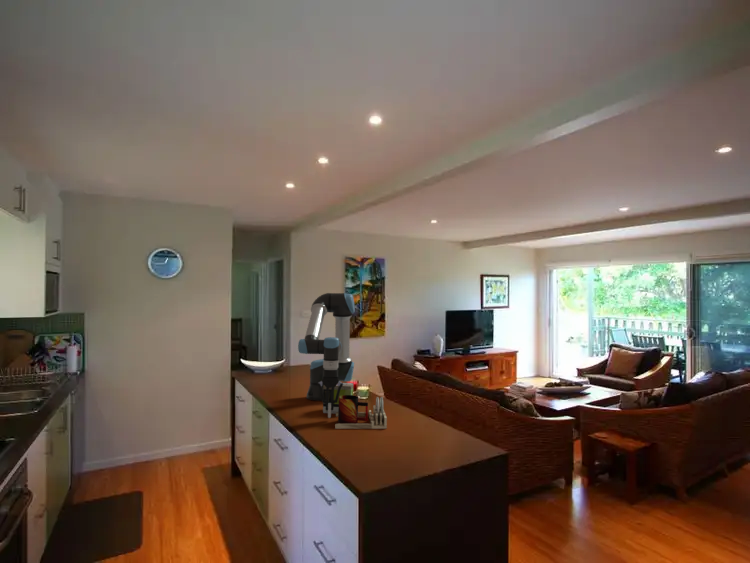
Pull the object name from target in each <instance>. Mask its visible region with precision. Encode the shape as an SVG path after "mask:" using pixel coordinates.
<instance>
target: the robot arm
mask: <svg viewBox="0 0 750 563" xmlns="http://www.w3.org/2000/svg"><path fill="white" fill-rule="evenodd" d="M355 311H356V310H355V298H354V295H353V294H351V293H348V292H347V293H346V292H344V293H343V292H336V293H335V292H333V293H332V292H326V293H323V294H320V295H319V296H318V297H317V298H315V299H314V301H313V303H312V304H311V307H310V312H311V314H310V317H309V321H308V325H307V328H306V330H305V331H306V332H305V335H304V338H300V339H299V341H298V343H297V344H298V346H297V347H298V348H297V349H298V350H297V351H298V353H299V354H303V355H304V354H305V355H323V358H321V359H315V360H312V361H311V362H310V367H309V370H310V371H309V387H308V389H307V392H306V399H307V400H310V401H319V402H322V404H323V403H325V404H326V410H328V413H327V418H328V419H330V418H332V413H331V410H333V408H334V403H337V401H338V397H339V393H340V390H341V387H342V386H343V383H346V382H351V381H352V380H353V379H352V378H353V374H354V367H355V362H354V361H353V358H352V357H350V335H351V334H350V324H351V322H350V320H351V318H352V316H353V314H355ZM327 313H332V316H333V317H334V320H335V321H334V322H335V324H334V325H335V326H334V327H335V332H334V333H335V334H334V337H324V339H320V337H321V332H322V327H323V323H324V320H325V319H324V318H325V316H326V315H327ZM337 384H338V386H339V387H338V391H337V394H336V398H335V400H334V387H335V386H336V385H337ZM323 386H325V387H326V400H325V398H324V394H323ZM329 388H331V403H328V402H329Z"/></svg>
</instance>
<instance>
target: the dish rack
mask: <svg viewBox="0 0 750 563" xmlns="http://www.w3.org/2000/svg"><path fill="white" fill-rule="evenodd" d="M372 406H373V408H372V409H373V411H372V410H371V409H368V420H369V423H356V424H340V423H335V425H334V426H335V428H334V429H335V430H336V429H337V430H340V429H341V430H342V429H343V430H345V429H347V430H348V429H350V430H351V429H352V430H353V429H355V430H356V429H357V430H361V429H363V430H364V429H365V430H367V429H370V430H373V429H376V430H377V429H380V430H382V429H384V430H385V429H387V428H388V426H387V422H388V417H387V415H386V412H385V410H384V398H383V396H380V398H379V397H378V396H376V398H375V405H372ZM365 413H366V411H358V417H365ZM335 417H337V418H338V412H336V413H335Z"/></svg>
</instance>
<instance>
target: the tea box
mask: <svg viewBox="0 0 750 563" xmlns="http://www.w3.org/2000/svg"><path fill="white" fill-rule="evenodd" d="M342 383H343V386H342V387H341V390H340V393H339V396H343V395H354V382H353V383H352V382H342ZM338 387H339V386H338V384H337V385H336V386H335V387H334V400H335V398H336V394H337V391H338ZM323 394H324V398H325V400H326V387H325V386H323ZM328 403H331V388H329V402H328ZM338 408H339V397H338V401H337V403H334V408H333V410H331V414H336V412H338ZM322 412H323V414H328V410H326V404H325V403H323V402H322Z"/></svg>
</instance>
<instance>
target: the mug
mask: <svg viewBox="0 0 750 563" xmlns="http://www.w3.org/2000/svg"><path fill="white" fill-rule="evenodd" d="M359 406H360V407H365V412H366V413H365V417H358V412H359ZM368 412H369V402H366V401H365V402H364V401H363V402H362V401H359V396H358V395H354V394H353V395H343V396H339V408H338V417H337V424H359V422H368V421H369V417H368Z"/></svg>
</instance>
